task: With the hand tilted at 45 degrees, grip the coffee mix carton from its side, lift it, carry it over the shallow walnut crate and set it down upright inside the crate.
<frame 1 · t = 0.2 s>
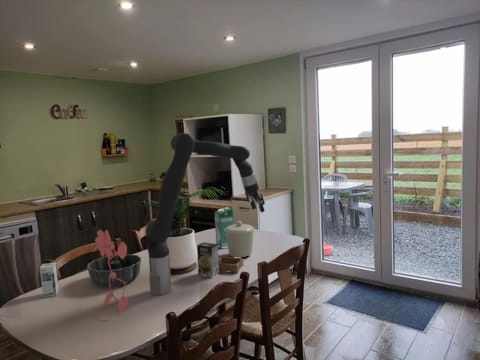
hand: (258, 210, 193), 31 cm above the table, tool tilted 20°, fingers open, 8 cm apart
walnut crate: (229, 268, 194), on the table
bundt pan: (116, 280, 184), on the table
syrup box: (50, 294, 170), on the table
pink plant: (109, 311, 151), on the table
milk carton: (225, 246, 235), on the table
coffee box: (208, 275, 187), on the table
canister: (240, 256, 215), on the table
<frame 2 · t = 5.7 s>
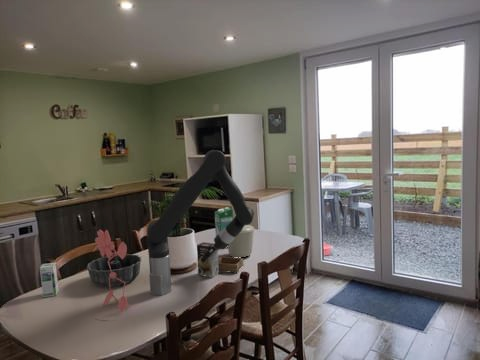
hand: (205, 258, 186), 8 cm above the table, tool tilted 45°, fingers closed on coffee box, 7 cm apart
coffee box: (208, 274, 187), on the table, touching gripper
everything else where it was.
when the fingers open (11 cm above the table, at t = 11.2 s): coffee box drops 1 cm, resting on walnut crate.
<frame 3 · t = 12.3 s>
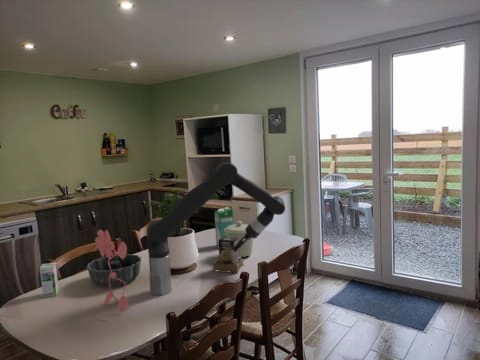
hand: (236, 247, 191), 12 cm above the table, tool tilted 45°, fingers open, 8 cm apart
coffee box: (229, 268, 193), point 1 cm above the table, touching walnut crate
everything else where it was.
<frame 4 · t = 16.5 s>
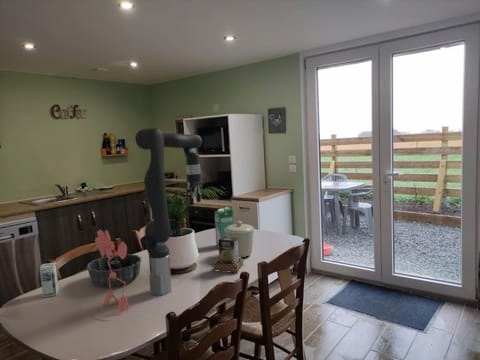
hand: (195, 203, 191), 36 cm above the table, tool pointing down, fingers open, 8 cm apart
nothing on the table moved.
at the end: coffee box inside the target area on the walnut crate (0.6 cm from its centre), point 0.6 cm above the walnut crate's base; coffee box tilted 0°; the gripper is holding nothing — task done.
